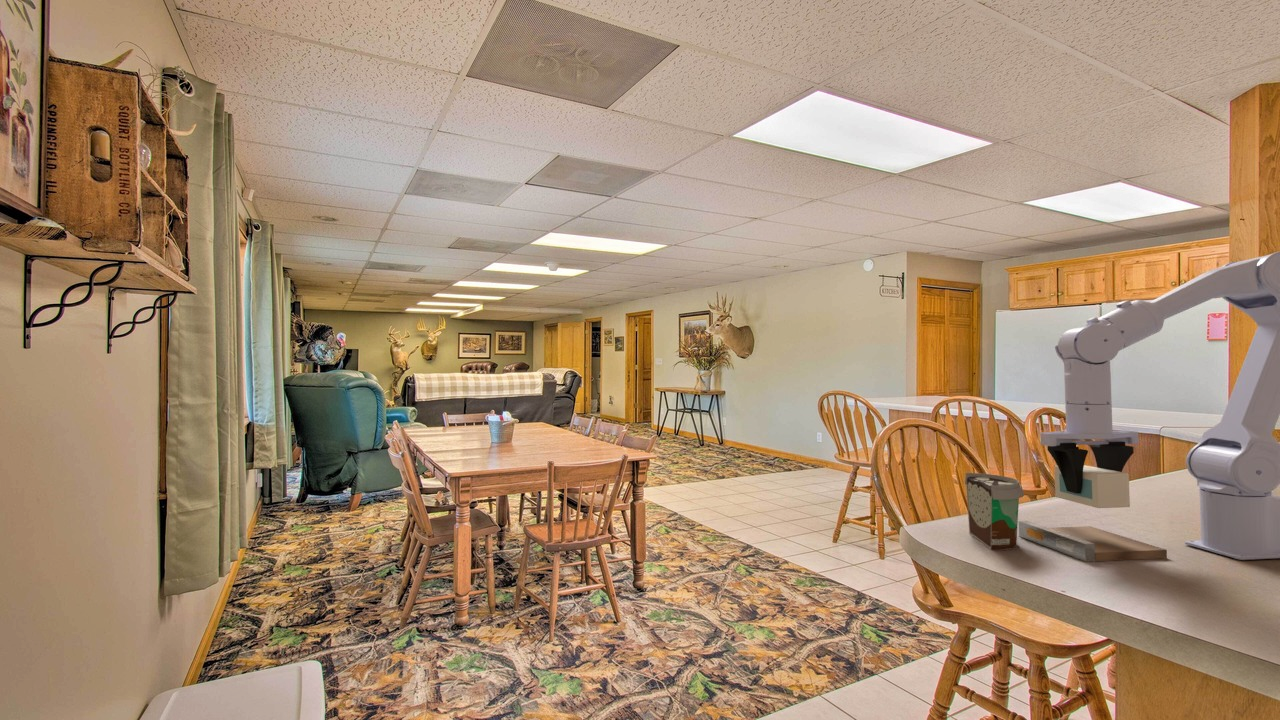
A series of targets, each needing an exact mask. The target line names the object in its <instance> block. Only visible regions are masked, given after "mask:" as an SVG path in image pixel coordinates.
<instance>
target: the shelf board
mask: <svg viewBox="0 0 1280 720" xmlns="http://www.w3.org/2000/svg"><path fill="white" fill-rule="evenodd" d="M1049 528H1050V529H1053V530H1056V531H1059V532H1062V533H1065V534H1068V535H1070V536H1073V537H1076V538H1079V539H1082V540H1085V541H1088V542H1091V543H1094V553H1095V561H1094V562H1108V561H1128V560H1129V561H1130V560H1131V561H1132V560H1133V561H1134V560H1152V559H1153V560H1156V559H1167V558H1168V554H1167V553H1168V552H1167V549H1166V548H1162V547H1159V546H1155V545H1152V544H1148V543H1145V542H1143V541H1139V540H1136V539H1133V538H1129V537H1126V536H1123V535H1120V534H1117V533H1113V532H1111V531H1110V532H1109V531H1107V530H1103V529H1100V528H1097V527H1093V526H1091V525H1086V526H1065V527H1064V526H1063V527H1062V526H1060V527H1059V526H1058V527H1049Z"/></svg>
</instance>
